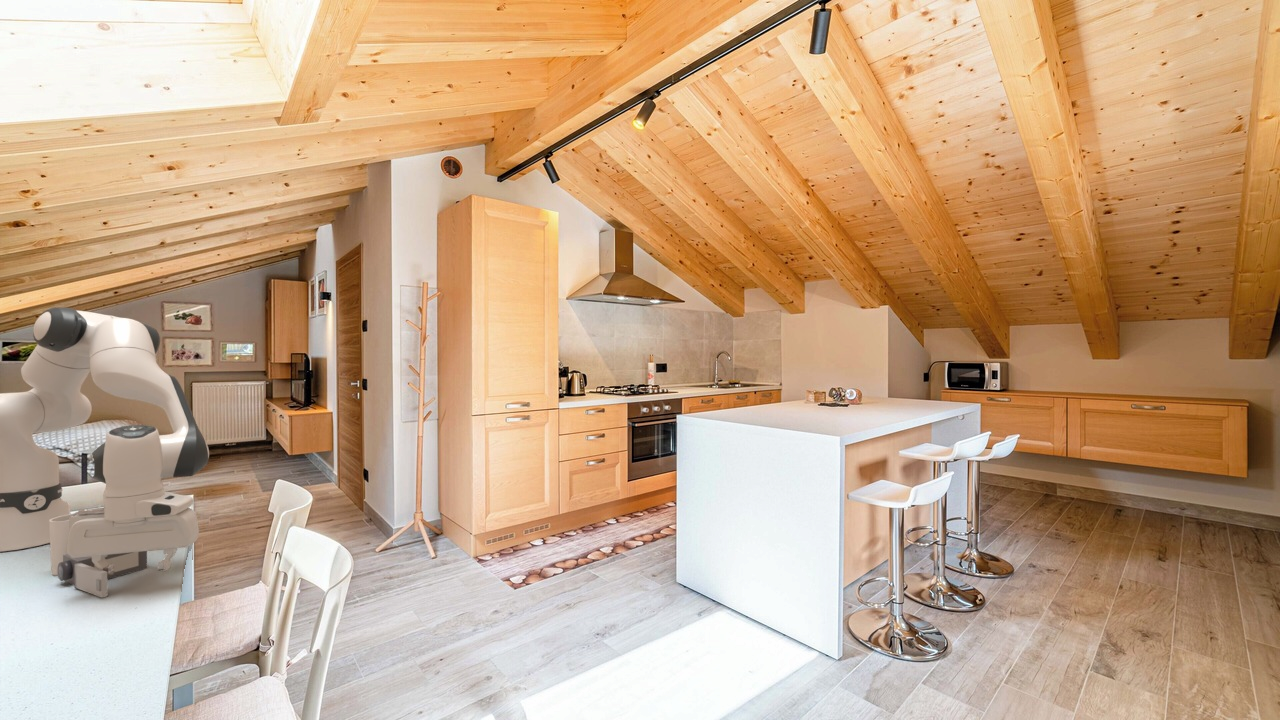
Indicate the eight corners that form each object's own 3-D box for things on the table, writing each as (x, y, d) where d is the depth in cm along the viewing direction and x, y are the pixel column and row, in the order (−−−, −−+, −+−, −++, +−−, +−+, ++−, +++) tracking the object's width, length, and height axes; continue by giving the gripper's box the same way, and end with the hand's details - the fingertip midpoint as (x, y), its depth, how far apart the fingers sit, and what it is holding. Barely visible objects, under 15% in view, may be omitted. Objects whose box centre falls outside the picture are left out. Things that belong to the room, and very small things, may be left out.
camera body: (54, 582, 109) (53, 554, 109) (131, 561, 120) (131, 536, 120) (68, 590, 106) (68, 560, 106) (147, 568, 117) (147, 541, 116)
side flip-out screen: (80, 585, 107) (80, 562, 107) (107, 595, 102) (107, 571, 102) (72, 587, 106) (72, 564, 106) (99, 598, 101) (99, 573, 101)
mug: (46, 579, 111) (45, 523, 111) (53, 569, 116) (52, 516, 116) (112, 566, 117) (112, 514, 117) (116, 558, 123) (116, 507, 123)
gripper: (57, 515, 99) (58, 586, 100) (186, 505, 106) (187, 572, 106) (80, 505, 105) (82, 572, 106) (201, 497, 112) (203, 560, 112)
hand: (136, 572), depth 106 cm, fingers open, 8 cm apart
